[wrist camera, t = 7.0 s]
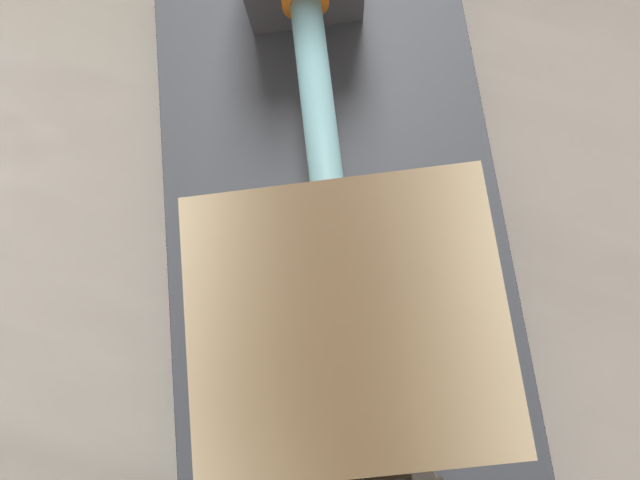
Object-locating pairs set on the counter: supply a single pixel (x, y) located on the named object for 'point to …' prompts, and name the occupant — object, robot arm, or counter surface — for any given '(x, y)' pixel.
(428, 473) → the robot arm
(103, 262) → the counter surface
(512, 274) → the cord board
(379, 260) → the notched wooden block
